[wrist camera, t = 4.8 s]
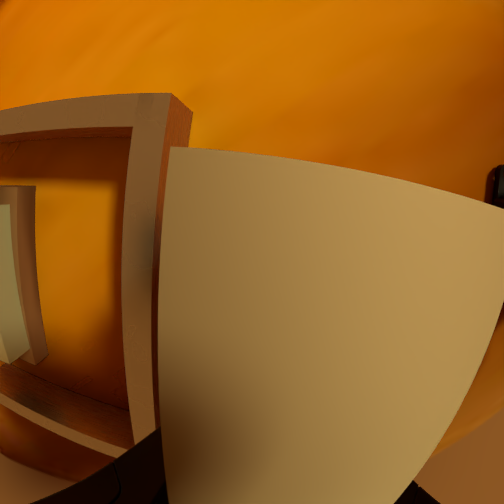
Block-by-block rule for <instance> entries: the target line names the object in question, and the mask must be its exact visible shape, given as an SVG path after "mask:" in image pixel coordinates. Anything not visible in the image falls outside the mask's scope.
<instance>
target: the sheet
mask: <svg viewBox="0 0 504 504" xmlns="http://www.w3.org/2000/svg"><path fill="white" fill-rule="evenodd" d="M503 301H504V209H502V208H499V207H496V206H493V205H490V204H487V203H484V202H481V201H477V200H474V199H471V198H468V197H464V196H461V195H457V194H454V193H450V192H447V191H443V190H440V189H436V188H432V187H428V186H425V185H421V184H417V183H413V182H409V181H405V180H400V179H396V178H392V177H387V176H383V175H378V174H374V173H369V172H364V171H359V170H354V169H349V168H344V167H338V166H333V165H327V164H321V163H315V162H309V161H303V160H297V159H290V158H283V157H276V156H268V155H260V154H252V153H243V152H234V151H224V150H213V149H201V148H188V147H172V146H170V154H169V162H168V170H167V179H166V188H165V198H164V209H163V221H162V234H161V249H160V267H159V293H158V379H159V403H160V421H161V435H162V447H163V458H164V468H165V477H166V485H167V493H168V500H169V504H394V503H395V501H396V500H397V499H398V498H399V497H400V495H401V494H402V493H403V492H404V490H405V489H406V488H407V487H408V485H409V484H410V483H411V482H412V480H413V479H414V478H415V476H416V475H417V474H418V472H419V471H420V469H421V468H422V467H423V465H424V464H425V462H426V461H427V459H428V458H429V457H430V455H431V454H432V452H433V451H434V449H435V448H436V446H437V444H438V443H439V441H440V440H441V438H442V437H443V435H444V433H445V432H446V430H447V428H448V427H449V425H450V423H451V421H452V420H453V418H454V416H455V414H456V413H457V411H458V409H459V407H460V405H461V403H462V401H463V400H464V398H465V396H466V394H467V392H468V390H469V388H470V386H471V384H472V381H473V379H474V377H475V375H476V373H477V371H478V368H479V366H480V364H481V362H482V359H483V357H484V354H485V352H486V350H487V347H488V345H489V342H490V339H491V337H492V334H493V331H494V329H495V326H496V323H497V320H498V317H499V314H500V311H501V308H502V305H503Z"/></svg>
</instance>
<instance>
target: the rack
mask: <svg viewBox="0 0 504 504" xmlns="http://www.w3.org/2000/svg"><path fill="white" fill-rule="evenodd" d="M192 115H193V112H192V111H191V110H190V109H189V108H188V107H187V106H185V105H184V104H183V103H182V102H181V101H180V100H179V99H178V98H177V97H175V96H174V95H173V94H172V93H136V94H115V95H101V96H90V97H80V98H71V99H63V100H56V101H49V102H42V103H36V104H31V105H25V106H20V107H15V108H10V109H6V110H1V111H0V143H8V142H17V141H29V140H41V139H58V138H82V137H132V138H131V145H130V153H129V161H128V170H127V179H126V190H125V202H124V216H123V234H122V266H121V297H122V329H123V347H124V361H125V373H126V383H127V392H128V401H129V409H130V411H127V410H124V409H121V408H118V407H114V406H111V405H108V404H105V403H102V402H99V401H96V400H93V399H91V398H88V397H85V396H82V395H80V394H77V393H74V392H72V391H69V390H67V389H64V388H62V387H59V386H57V385H54V384H52V383H50V382H47V381H45V380H43V379H41V378H38V377H36V376H34V375H32V374H30V373H28V372H25V371H23V370H21V369H19V368H17V367H15V366H13V365H11V364H8V363H5V364H4V365H2V366H1V367H0V403H1V404H2V405H4V406H5V407H7V408H9V409H10V410H12V411H14V412H16V413H17V414H19V415H21V416H23V417H25V418H26V419H28V420H30V421H32V422H34V423H36V424H38V425H40V426H42V427H44V428H46V429H48V430H50V431H52V432H54V433H56V434H58V435H60V436H62V437H65V438H67V439H69V440H71V441H74V442H76V443H78V444H81V445H83V446H86V447H88V448H91V449H93V450H96V451H98V452H101V453H104V454H107V455H109V456H112V457H115V458H118V457H119V456H120V455H122V454H123V453H125V452H126V451H127V450H129V449H130V448H132V447H133V446H134V445H136V444H137V443H138V442H140V441H141V440H142V439H144V438H145V437H146V436H148V435H149V434H150V433H152V432H153V431H154V430H156V429H157V428H158V427H160V426H161V421H160V403H159V379H158V293H159V267H160V249H161V234H162V221H163V209H164V198H165V188H166V179H167V170H168V162H169V154H170V146H172V147H188V143H189V135H190V129H191V122H192Z"/></svg>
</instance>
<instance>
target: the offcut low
mask: <svg viewBox="0 0 504 504" xmlns="http://www.w3.org/2000/svg"><path fill="white" fill-rule="evenodd" d="M35 191H36V186H18V185H0V205H8V204H10V225H11V240H12V251H13V260H14V269H15V276H16V283H17V289H18V295H19V301H20V306H21V311H22V316H23V321H24V325H25V330H26V334H27V338H28V342H29V346H30V349H29V350H28V351H26V352H25V353H24V354H23V355H21V356H20V357H19V358H20V359H22V360H24V361H26V362H28V363H31V364H33V365H35V366H36V365H37V364H38V363H39V362H40V361H42V360H43V359H44V358H45V357H46V356H47V355H49V354H48V349H47V344H46V339H45V333H44V327H43V321H42V314H41V307H40V299H39V290H38V280H37V268H36V251H35Z"/></svg>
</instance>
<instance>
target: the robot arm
mask: <svg viewBox="0 0 504 504" xmlns="http://www.w3.org/2000/svg"><path fill="white" fill-rule="evenodd" d="M503 172H504V165H498V166H497V168H496V171H495V182H494V192H493V200H492V205H493V206H496V207H499V208H502V209H504V176H503ZM30 504H169V500H168V493H167V485H166V477H165V468H164V458H163V447H162V435H161V426H160V427H158V428H157V429H156V430H154V431H153V432H152V433H150V434H149V435H148V436H146V437H145V438H144V439H142V440H141V441H140V442H138V443H137V444H136V445H134V446H133V447H132V448H130V449H129V450H127V451H126V452H125V453H123V454H122V455H120V456H119V457H118V458H116V459H115V460H113V462H110V463H109V464H107V465H106V466H104V467H103V468H102V469H100V470H98V471H97V472H95V473H94V474H92V475H90V476H89V477H87V478H86V479H84V480H82V481H80V482H78V483H76V484H74V485H72V486H70V487H68V488H66V489H64V490H61V491H59V492H57V493H54V494H52V495H50V496H48V497H45V498H43V499H40V500H38V501H35V502H33V503H30ZM394 504H440V503H439V502H438V501H437V500H435V499H434V498H433V497H432V496H430V495H429V494H428V493H427V492H426V491H425V490H424V489H422V488H421V487H418V484H417V483H416V482H415V481H413V480H412V482H411V483H410V484H409V485H408V487H407V488H406V489H405V490H404V492H403V493H402V494H401V495H400V497H399V498H398V499H397V500H396V501H395V503H394Z"/></svg>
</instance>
